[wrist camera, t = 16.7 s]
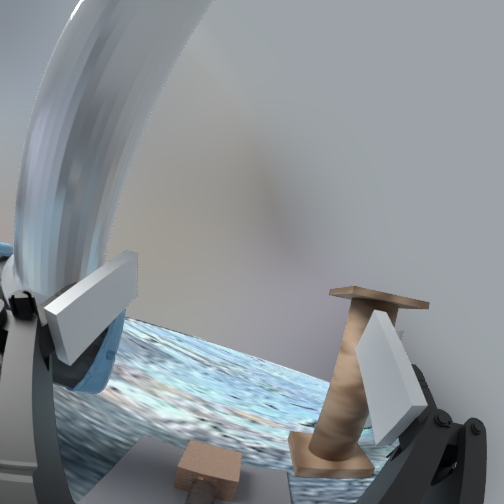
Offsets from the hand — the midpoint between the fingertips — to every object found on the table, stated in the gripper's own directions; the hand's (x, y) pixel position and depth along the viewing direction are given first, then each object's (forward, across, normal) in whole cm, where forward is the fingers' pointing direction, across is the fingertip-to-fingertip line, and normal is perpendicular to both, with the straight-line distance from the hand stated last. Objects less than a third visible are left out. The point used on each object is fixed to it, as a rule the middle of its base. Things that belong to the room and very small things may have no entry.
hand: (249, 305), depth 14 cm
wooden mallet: (-7, 0, -25) cm, 26 cm away
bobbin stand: (+11, +19, -36) cm, 42 cm away
